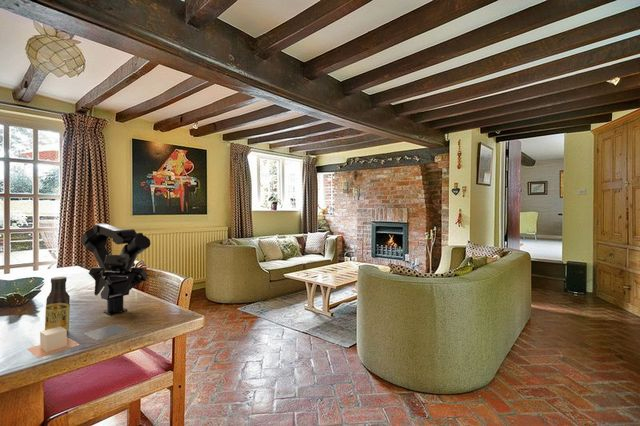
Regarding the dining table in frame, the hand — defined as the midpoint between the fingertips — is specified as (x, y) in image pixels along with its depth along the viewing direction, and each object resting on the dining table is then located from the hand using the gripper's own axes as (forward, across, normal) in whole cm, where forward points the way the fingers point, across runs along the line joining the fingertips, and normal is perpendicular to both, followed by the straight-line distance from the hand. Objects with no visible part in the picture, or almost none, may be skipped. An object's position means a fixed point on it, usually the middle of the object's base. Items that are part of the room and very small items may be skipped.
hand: (108, 295), depth 109 cm
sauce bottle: (+12, -14, +6) cm, 19 cm away
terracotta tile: (+19, -8, -1) cm, 20 cm away
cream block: (+18, -8, -1) cm, 20 cm away
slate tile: (+11, +1, +7) cm, 13 cm away
